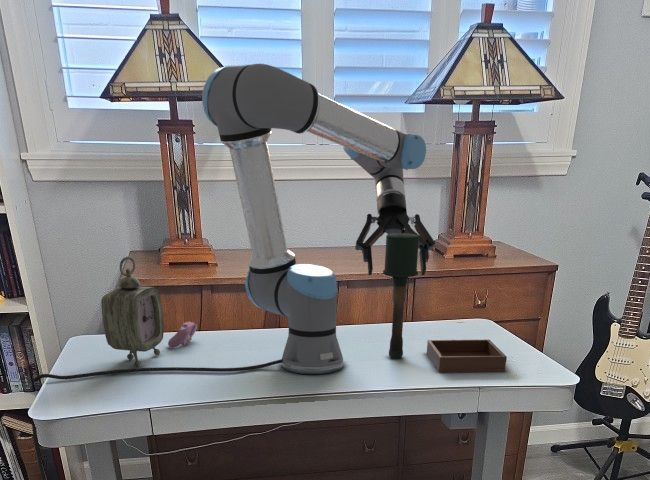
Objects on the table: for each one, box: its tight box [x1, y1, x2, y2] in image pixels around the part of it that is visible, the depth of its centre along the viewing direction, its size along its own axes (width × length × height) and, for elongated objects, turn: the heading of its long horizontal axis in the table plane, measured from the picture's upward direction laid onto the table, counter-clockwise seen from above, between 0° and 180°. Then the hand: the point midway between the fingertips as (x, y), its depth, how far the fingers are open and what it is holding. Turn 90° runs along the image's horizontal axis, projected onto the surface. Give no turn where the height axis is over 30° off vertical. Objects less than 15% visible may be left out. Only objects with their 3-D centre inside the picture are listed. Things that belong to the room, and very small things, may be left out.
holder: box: [426, 339, 507, 373], centre depth 178 cm, size 17×16×4 cm
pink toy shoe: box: [167, 320, 198, 349], centre depth 190 cm, size 10×5×7 cm, turn 171°
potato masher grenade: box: [382, 233, 419, 360], centre depth 175 cm, size 8×9×30 cm
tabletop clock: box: [100, 256, 165, 368], centre depth 171 cm, size 14×9×25 cm, turn 167°
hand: (397, 272), depth 177 cm, fingers open, 13 cm apart
